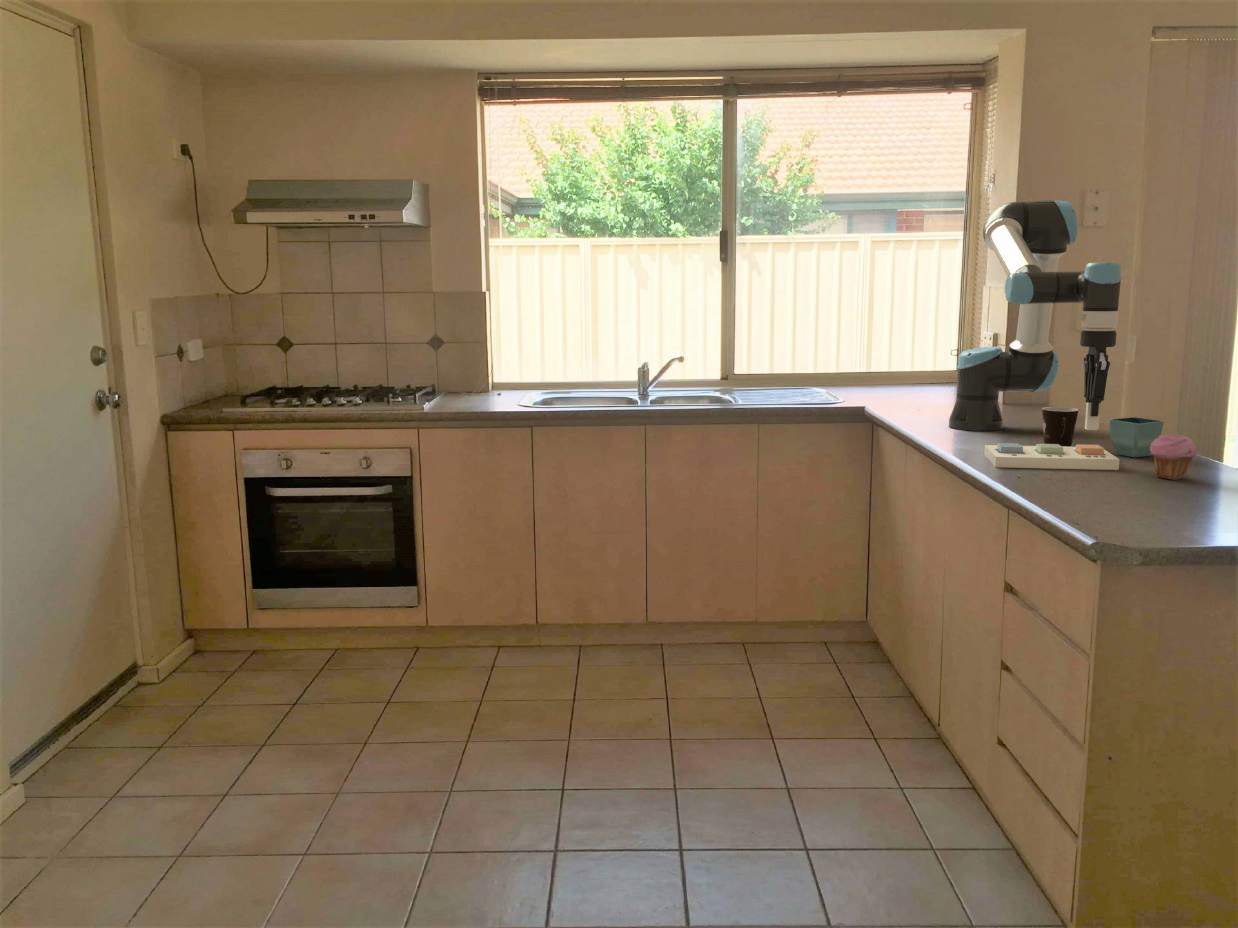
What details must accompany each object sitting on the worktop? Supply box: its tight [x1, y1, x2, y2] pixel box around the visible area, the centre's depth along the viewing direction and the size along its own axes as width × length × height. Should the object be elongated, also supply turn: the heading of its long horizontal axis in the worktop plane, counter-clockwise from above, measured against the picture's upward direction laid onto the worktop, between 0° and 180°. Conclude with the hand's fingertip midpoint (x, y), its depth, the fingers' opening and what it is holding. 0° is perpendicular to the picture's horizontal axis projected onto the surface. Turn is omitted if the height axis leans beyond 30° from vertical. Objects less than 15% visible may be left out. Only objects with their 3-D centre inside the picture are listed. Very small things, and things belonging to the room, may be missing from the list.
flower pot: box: [1108, 416, 1165, 459], centre depth 242 cm, size 9×9×9 cm
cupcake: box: [1150, 433, 1197, 481], centre depth 216 cm, size 9×9×10 cm
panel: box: [983, 444, 1120, 471], centre depth 237 cm, size 16×27×3 cm, turn 79°
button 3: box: [1075, 444, 1105, 455], centre depth 235 cm, size 5×5×3 cm
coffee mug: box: [1041, 406, 1079, 447], centre depth 254 cm, size 12×9×10 cm
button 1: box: [996, 442, 1023, 454], centre depth 238 cm, size 5×5×3 cm
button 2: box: [1035, 443, 1063, 454], centre depth 236 cm, size 5×5×3 cm
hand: (1091, 429), depth 233 cm, fingers closed
